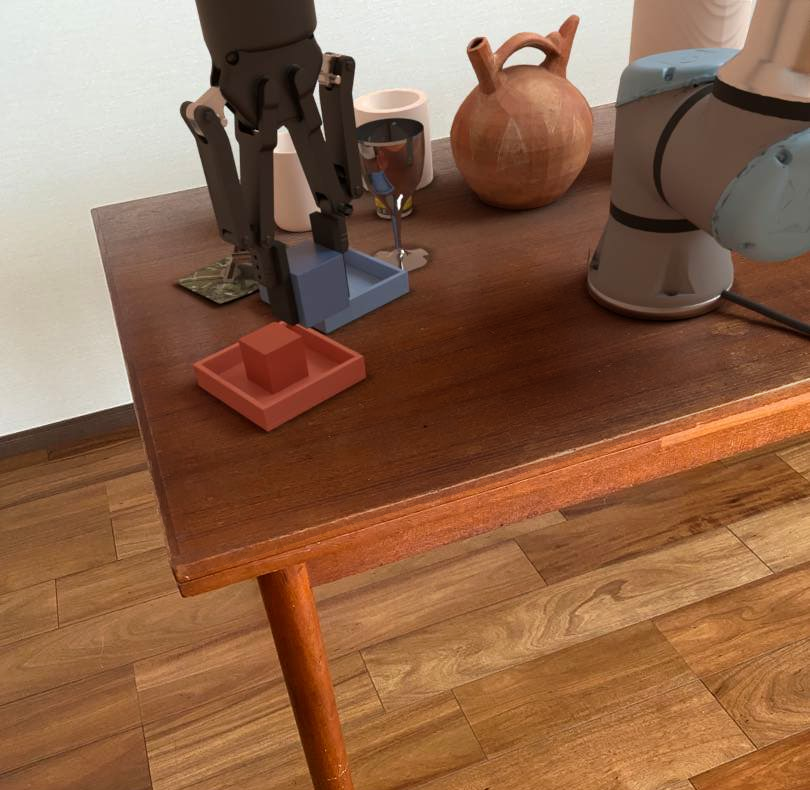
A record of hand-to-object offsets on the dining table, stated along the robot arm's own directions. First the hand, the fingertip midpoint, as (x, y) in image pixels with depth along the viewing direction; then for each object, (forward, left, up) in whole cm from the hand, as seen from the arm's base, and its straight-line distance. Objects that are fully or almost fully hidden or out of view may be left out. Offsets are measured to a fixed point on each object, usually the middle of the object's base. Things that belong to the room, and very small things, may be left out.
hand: (311, 305), depth 71 cm
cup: (+44, -29, -14) cm, 55 cm away
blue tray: (+22, -18, -14) cm, 32 cm away
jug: (+25, -53, -14) cm, 60 cm away
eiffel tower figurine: (+35, -15, -14) cm, 41 cm away
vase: (+15, -73, -14) cm, 76 cm away
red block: (+12, -3, -13) cm, 18 cm away
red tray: (+12, -3, -14) cm, 19 cm away
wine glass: (+23, -29, -14) cm, 40 cm away
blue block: (0, 0, 0) cm, 0 cm away
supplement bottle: (+34, -38, -14) cm, 53 cm away
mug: (+43, -45, -14) cm, 64 cm away
